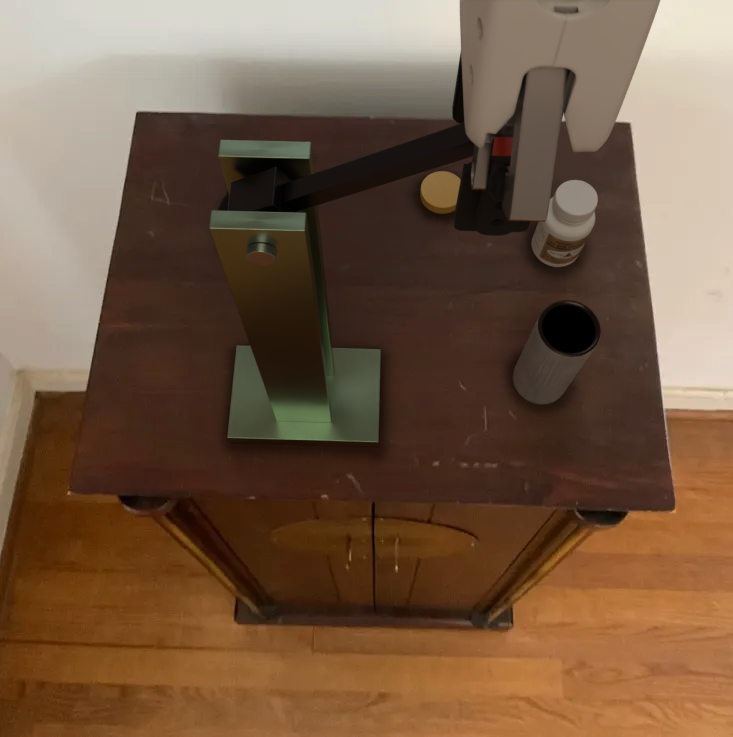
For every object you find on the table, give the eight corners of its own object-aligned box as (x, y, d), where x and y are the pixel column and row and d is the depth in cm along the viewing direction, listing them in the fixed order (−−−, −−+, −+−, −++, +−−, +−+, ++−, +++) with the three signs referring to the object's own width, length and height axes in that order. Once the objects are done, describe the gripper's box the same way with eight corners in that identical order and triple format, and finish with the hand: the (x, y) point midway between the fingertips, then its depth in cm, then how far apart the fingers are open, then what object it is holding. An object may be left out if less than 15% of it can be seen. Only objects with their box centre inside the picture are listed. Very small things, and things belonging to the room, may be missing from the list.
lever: (521, 94, 33) (502, 57, 32) (527, 190, 32) (506, 158, 30) (262, 183, 40) (232, 158, 38) (254, 267, 38) (222, 245, 36)
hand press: (380, 356, 65) (391, 118, 37) (378, 447, 62) (388, 261, 34) (239, 352, 65) (145, 112, 38) (230, 443, 62) (120, 255, 35)
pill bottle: (540, 273, 68) (561, 226, 61) (523, 232, 70) (541, 181, 62) (587, 262, 68) (613, 213, 61) (569, 221, 70) (592, 169, 63)
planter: (571, 362, 65) (606, 308, 55) (560, 411, 63) (595, 364, 54) (518, 348, 65) (544, 292, 56) (506, 396, 64) (531, 347, 54)
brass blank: (447, 170, 72) (448, 164, 71) (471, 201, 71) (473, 194, 70) (411, 189, 71) (412, 183, 70) (436, 221, 70) (437, 214, 69)
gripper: (843, -41, 14) (586, 346, 31) (715, -500, 21) (559, 28, 38) (443, -50, 15) (402, 341, 31) (438, -504, 21) (406, 24, 38)
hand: (488, 167), depth 34 cm, fingers closed on lever, 5 cm apart
